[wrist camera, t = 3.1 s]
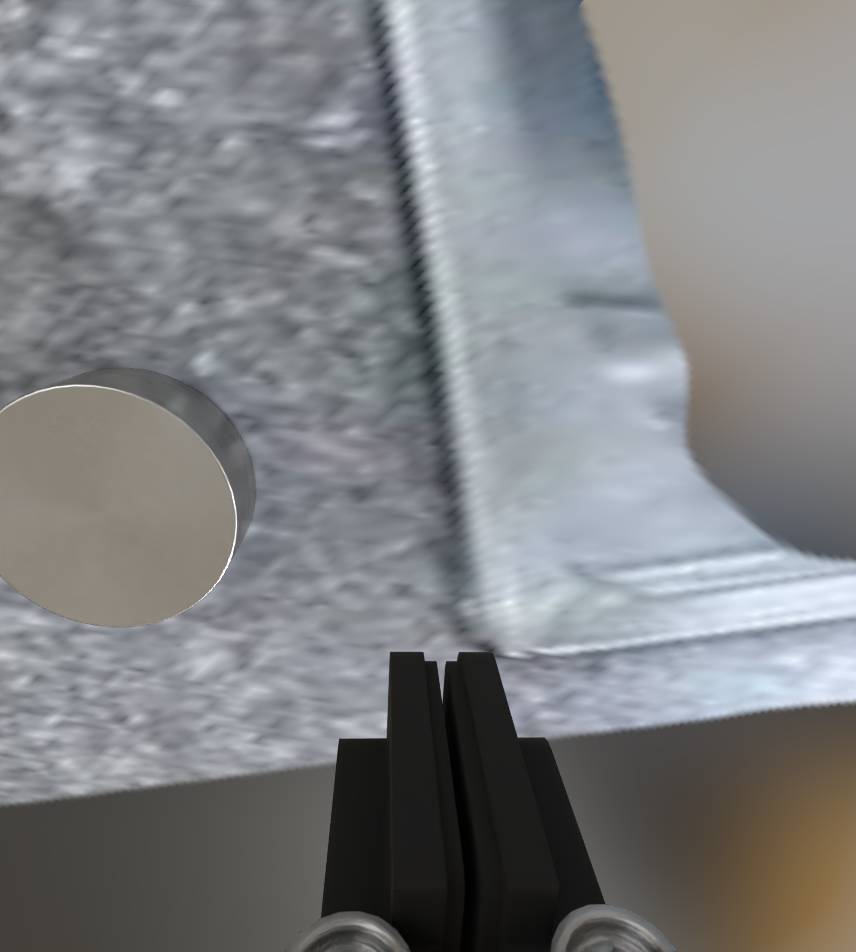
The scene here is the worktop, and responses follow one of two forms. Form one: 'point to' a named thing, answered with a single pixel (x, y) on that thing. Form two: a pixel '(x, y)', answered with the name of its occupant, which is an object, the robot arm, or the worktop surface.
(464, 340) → the worktop surface
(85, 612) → the brushed steel puck
